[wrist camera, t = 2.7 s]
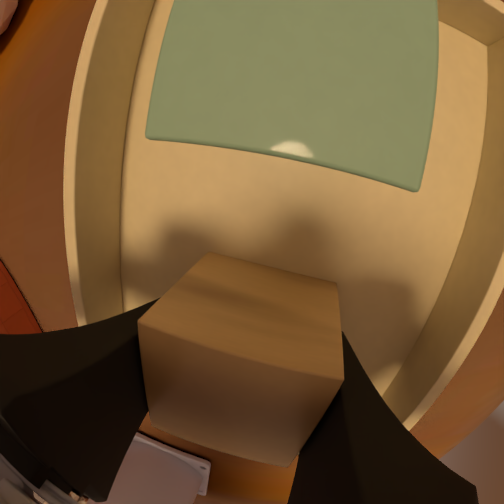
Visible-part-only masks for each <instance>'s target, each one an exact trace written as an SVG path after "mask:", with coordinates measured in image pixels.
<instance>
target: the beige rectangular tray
mask: <svg viewBox="0 0 504 504" xmlns="http://www.w3.org/2000/svg"><path fill="white" fill-rule="evenodd" d="M173 2H174V0H97V1H96V4H95V7H94V9H93V12H92V15H91V18H90V21H89V24H88V27H87V30H86V34H85V37H84V40H83V44H82V48H81V52H80V56H79V60H78V64H77V68H76V73H75V78H74V83H73V88H72V94H71V100H70V106H69V113H68V121H67V130H66V141H65V155H64V183H63V198H64V226H65V241H66V252H67V261H68V269H69V277H70V283H71V290H72V296H73V301H74V307H75V312H76V317H77V322H78V326H83V325H87V324H91V323H95V322H98V321H101V320H105V319H108V318H110V317H113V316H116V315H119V314H121V313H124V312H127V311H129V310H132V309H135V308H137V307H139V306H142V305H144V304H146V303H149V302H151V301H153V300H156V299H158V298H160V297H162V296H163V295H164V294H165V293H166V292H167V291H168V290H169V289H170V288H171V287H172V286H173V285H174V284H175V283H176V282H177V281H178V280H179V279H180V278H181V277H182V276H183V275H184V274H186V273H187V272H188V271H189V270H190V269H191V268H192V267H193V266H194V265H195V264H196V263H197V262H198V261H199V260H200V259H201V258H202V257H203V256H204V255H205V254H206V253H208V252H213V253H217V254H221V255H225V256H229V257H233V258H237V259H241V260H245V261H249V262H253V263H257V264H261V265H265V266H269V267H273V268H278V269H282V270H286V271H290V272H294V273H298V274H302V275H306V276H310V277H315V278H319V279H323V280H327V281H331V282H336V283H337V290H338V299H339V309H340V320H341V331H343V332H344V334H345V336H346V338H347V339H348V341H349V343H350V345H351V347H352V349H353V351H354V352H355V354H356V356H357V358H358V360H359V362H360V363H361V365H362V367H363V369H364V370H365V372H366V374H367V375H368V377H369V379H370V380H371V382H372V383H373V385H374V386H375V388H376V389H377V391H378V392H379V394H380V395H381V397H382V398H383V400H384V401H385V403H386V404H387V405H388V407H389V408H390V409H391V411H392V412H393V413H394V414H395V416H396V417H397V418H398V419H399V421H400V422H401V423H402V424H403V425H404V426H405V428H406V429H407V430H408V431H409V430H410V429H411V428H412V427H413V426H414V425H415V424H416V423H417V422H418V420H419V419H420V418H421V417H422V416H423V415H424V414H425V412H426V411H427V410H428V409H429V408H430V406H431V405H432V404H433V403H434V401H435V400H436V399H437V398H438V396H439V395H440V394H441V392H442V391H443V390H444V389H445V387H446V386H447V384H448V383H449V382H450V380H451V379H452V378H453V376H454V375H455V373H456V372H457V370H458V369H459V367H460V366H461V364H462V363H463V361H464V360H465V358H466V357H467V355H468V354H469V352H470V350H471V349H472V347H473V345H474V344H475V342H476V340H477V339H478V337H479V335H480V333H481V332H482V330H483V328H484V326H485V324H486V322H487V320H488V319H489V317H490V315H491V313H492V311H493V309H494V307H495V305H496V303H497V300H498V298H499V296H500V294H501V292H502V289H503V287H504V3H503V2H502V1H500V0H437V4H438V21H439V60H438V79H437V91H436V101H435V110H434V118H433V125H432V131H431V138H430V143H429V149H428V154H427V159H426V164H425V169H424V174H423V178H422V182H421V187H420V189H419V191H418V192H410V191H407V190H404V189H401V188H398V187H395V186H391V185H388V184H385V183H382V182H378V181H375V180H371V179H368V178H364V177H361V176H357V175H353V174H350V173H346V172H342V171H338V170H334V169H330V168H326V167H322V166H317V165H313V164H309V163H304V162H299V161H295V160H290V159H285V158H280V157H275V156H269V155H264V154H258V153H253V152H247V151H240V150H234V149H227V148H220V147H213V146H205V145H197V144H188V143H179V142H168V141H156V140H149V139H147V138H145V129H146V122H147V115H148V109H149V103H150V97H151V91H152V86H153V81H154V76H155V71H156V66H157V62H158V57H159V53H160V49H161V45H162V41H163V37H164V33H165V29H166V26H167V22H168V18H169V15H170V12H171V8H172V5H173ZM297 455H299V453H298V454H297Z"/></svg>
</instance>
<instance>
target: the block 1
mask: <svg viewBox="0 0 504 504" xmlns="http://www.w3.org/2000/svg"><path fill="white" fill-rule="evenodd" d="M438 60H439V21H438V4H437V0H174V2H173V5H172V8H171V12H170V15H169V18H168V22H167V26H166V29H165V33H164V37H163V41H162V45H161V49H160V53H159V57H158V62H157V66H156V71H155V76H154V81H153V86H152V91H151V97H150V103H149V109H148V115H147V122H146V129H145V138H147V139H149V140H156V141H168V142H179V143H188V144H197V145H205V146H213V147H220V148H227V149H234V150H240V151H247V152H253V153H258V154H264V155H269V156H275V157H280V158H285V159H290V160H295V161H299V162H304V163H309V164H313V165H317V166H322V167H326V168H330V169H334V170H338V171H342V172H346V173H350V174H353V175H357V176H361V177H364V178H368V179H371V180H375V181H378V182H382V183H385V184H388V185H391V186H395V187H398V188H401V189H404V190H407V191H410V192H418V191H419V189H420V187H421V182H422V178H423V174H424V169H425V164H426V159H427V154H428V149H429V143H430V138H431V131H432V125H433V118H434V110H435V101H436V91H437V79H438Z"/></svg>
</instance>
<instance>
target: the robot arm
mask: <svg viewBox="0 0 504 504" xmlns="http://www.w3.org/2000/svg"><path fill="white" fill-rule="evenodd" d="M160 298H161V297H160ZM160 298H158V299H156V300H153V301H151V302H149V303H146V304H144V305H142V306H139V307H137V308H135V309H132V310H129V311H127V312H124V313H121V314H119V315H116V316H113V317H110V318H108V319H105V320H101V321H98V322H95V323H91V324H87V325H83V326H79V327H75V328H70V329H64V330H58V331H51V332H44V333H33V334H0V504H42V503H41V502H39V501H38V500H36V499H35V498H34V495H33V491H34V492H35V493H37V494H38V495H39V496H40V497H41V498H43V499H44V500H45V501H46V502H47V503H49V504H80V503H78V502H77V501H75V500H74V499H73V498H71V497H70V496H68V495H69V493H70V492H71V491H72V492H73V493H75V494H76V495H77V496H79V497H82V496H83V494H84V495H85V496H87V497H88V498H89V499H88V501H87V502H86V504H193V502H194V500H195V498H196V495H197V494H200V495H206V493H207V487H208V481H209V474H210V468H211V463H210V462H209V461H207V460H205V459H202V458H199V457H196V456H193V455H190V454H188V453H185V452H182V451H180V450H177V449H175V448H172V447H170V446H167V445H165V444H162V443H160V442H158V441H155V440H153V439H151V438H149V437H146V436H144V435H142V434H140V433H138V432H137V431H138V429H139V427H140V425H141V423H142V421H143V419H144V417H145V416H146V414H147V412H148V411H149V409H148V404H147V398H146V392H145V385H144V378H143V371H142V363H141V355H140V345H139V335H138V323H137V322H138V320H139V319H140V318H141V317H142V316H143V315H144V314H145V313H146V312H147V311H148V310H149V309H150V308H151V307H152V306H153V305H154V304H155V303H156V302H157V301H158V300H159V299H160ZM341 332H342V346H343V363H344V381H343V383H342V385H341V386H340V388H339V390H338V392H337V393H336V395H335V397H334V399H333V400H332V402H331V404H330V405H329V407H328V409H327V410H326V412H325V414H324V415H323V417H322V418H321V420H320V422H319V423H318V425H317V426H316V428H315V429H314V431H313V432H312V434H311V435H310V437H309V438H308V440H307V441H306V443H305V444H304V446H303V447H302V449H301V450H300V451H299V458H298V463H297V468H296V472H295V477H294V481H293V485H292V489H291V492H290V496H289V500H288V503H287V504H479V503H478V497H477V490H476V486H475V485H473V484H471V483H470V482H468V481H467V480H465V479H464V478H462V477H461V476H459V475H458V474H456V473H455V472H453V471H452V470H450V469H449V468H448V467H447V466H445V465H444V464H443V463H442V462H441V461H439V460H438V459H437V458H436V457H435V456H433V455H432V454H431V453H430V452H429V451H428V450H427V449H426V448H425V447H424V446H423V445H422V444H421V443H420V442H419V441H418V440H417V439H416V438H415V437H414V436H413V435H412V434H411V433H410V432H409V431H408V430H407V429H406V428H405V426H404V425H403V424H402V423H401V422H400V421H399V419H398V418H397V417H396V416H395V414H394V413H393V412H392V411H391V409H390V408H389V407H388V405H387V404H386V403H385V401H384V400H383V398H382V397H381V395H380V394H379V392H378V391H377V389H376V388H375V386H374V385H373V383H372V382H371V380H370V379H369V377H368V375H367V374H366V372H365V370H364V369H363V367H362V365H361V363H360V362H359V360H358V358H357V356H356V354H355V352H354V351H353V349H352V347H351V345H350V343H349V341H348V339H347V338H346V336H345V334H344V332H343V331H341Z"/></svg>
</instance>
